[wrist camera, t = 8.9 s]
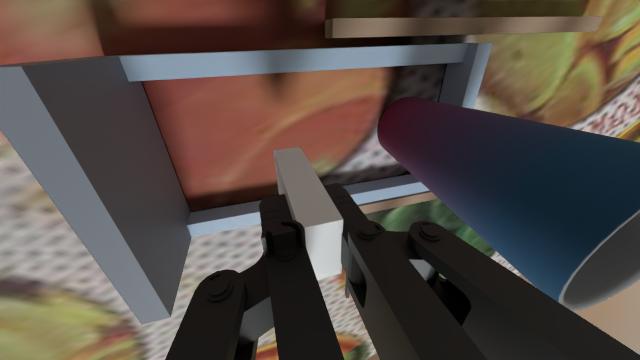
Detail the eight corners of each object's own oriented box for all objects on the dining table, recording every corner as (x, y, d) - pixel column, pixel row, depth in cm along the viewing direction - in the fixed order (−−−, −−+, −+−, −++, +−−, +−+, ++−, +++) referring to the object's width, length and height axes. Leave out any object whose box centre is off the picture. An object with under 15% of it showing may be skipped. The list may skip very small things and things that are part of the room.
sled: (176, 227, 19) (141, 324, 13) (102, 56, 13) (-44, 69, 6) (431, 180, 25) (500, 230, 18) (464, 42, 19) (590, 42, 12)
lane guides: (327, 210, 23) (332, 220, 22) (318, -484, 8) (333, -587, 7) (512, 174, 28) (525, 180, 27) (714, -292, 13) (767, -329, 12)
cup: (421, 66, 19) (784, 112, 6) (446, 128, 22) (706, 237, 10) (353, 123, 19) (554, 267, 7) (388, 174, 23) (561, 330, 11)
